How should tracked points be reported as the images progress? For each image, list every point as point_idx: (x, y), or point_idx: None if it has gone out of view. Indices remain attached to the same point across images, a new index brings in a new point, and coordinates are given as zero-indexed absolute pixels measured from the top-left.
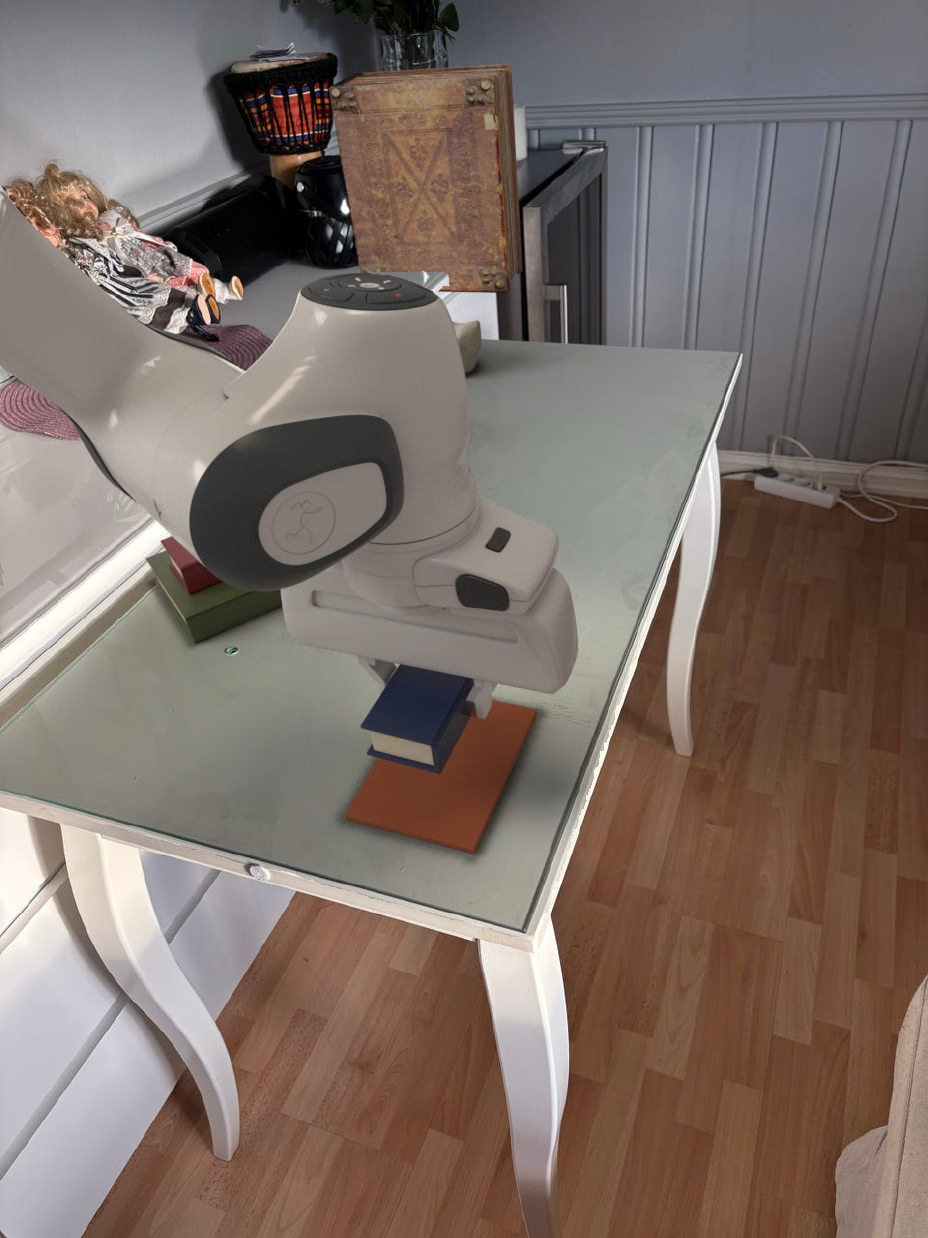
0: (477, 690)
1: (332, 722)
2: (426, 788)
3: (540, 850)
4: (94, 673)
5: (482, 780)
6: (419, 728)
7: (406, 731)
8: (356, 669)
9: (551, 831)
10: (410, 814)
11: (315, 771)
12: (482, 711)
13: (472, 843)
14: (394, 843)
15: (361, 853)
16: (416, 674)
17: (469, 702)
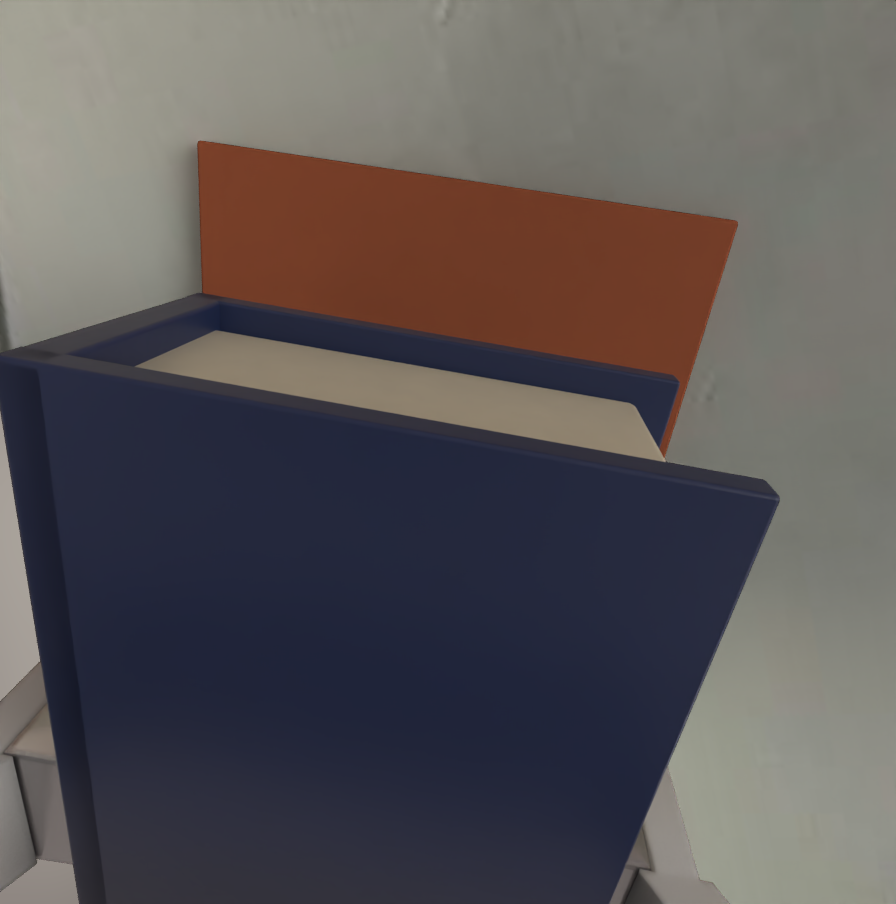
0: (37, 825)
1: (845, 625)
2: None
3: (12, 203)
4: None
5: None
6: (212, 515)
7: (309, 473)
8: (790, 802)
9: (14, 287)
10: (473, 266)
11: (886, 426)
12: (13, 690)
13: (210, 170)
14: (510, 138)
15: (632, 59)
16: None
17: (50, 748)
